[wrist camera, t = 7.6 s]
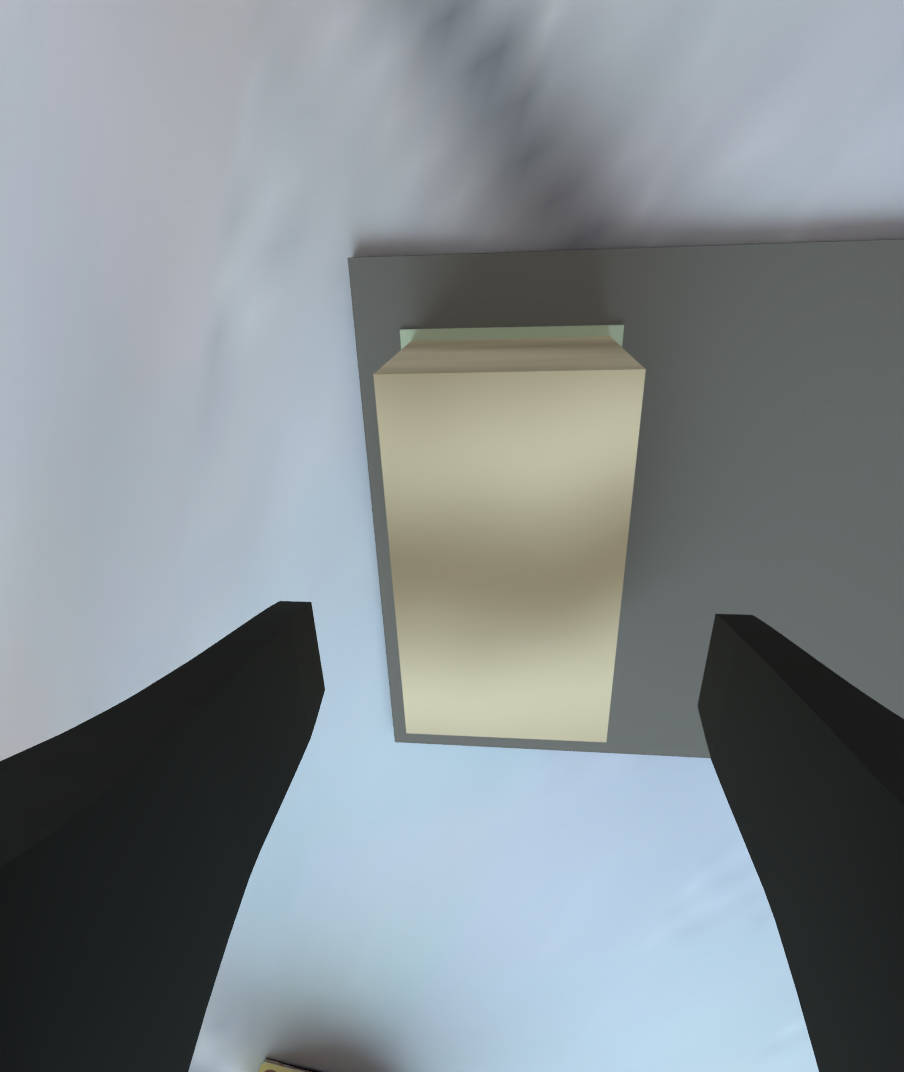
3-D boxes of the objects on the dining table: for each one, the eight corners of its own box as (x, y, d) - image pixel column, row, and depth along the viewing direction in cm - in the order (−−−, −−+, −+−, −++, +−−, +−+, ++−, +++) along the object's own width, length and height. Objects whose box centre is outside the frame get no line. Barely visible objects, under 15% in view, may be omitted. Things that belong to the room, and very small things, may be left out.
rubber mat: (1247, 227, 13) (1272, 226, 12) (981, 762, 20) (992, 774, 19) (351, 257, 15) (346, 257, 14) (396, 733, 22) (394, 744, 21)
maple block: (586, 635, 19) (605, 742, 15) (429, 630, 19) (406, 733, 15) (609, 336, 15) (645, 369, 11) (411, 340, 15) (373, 373, 11)
